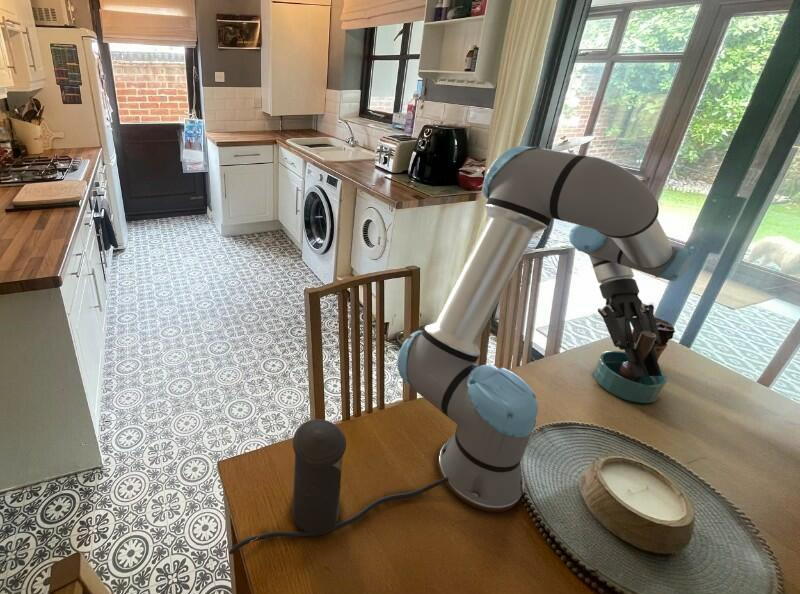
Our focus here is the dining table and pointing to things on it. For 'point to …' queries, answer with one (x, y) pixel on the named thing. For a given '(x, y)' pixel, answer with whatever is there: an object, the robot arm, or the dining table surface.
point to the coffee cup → (664, 333)
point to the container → (317, 475)
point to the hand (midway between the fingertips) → (648, 376)
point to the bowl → (623, 387)
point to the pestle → (644, 346)
